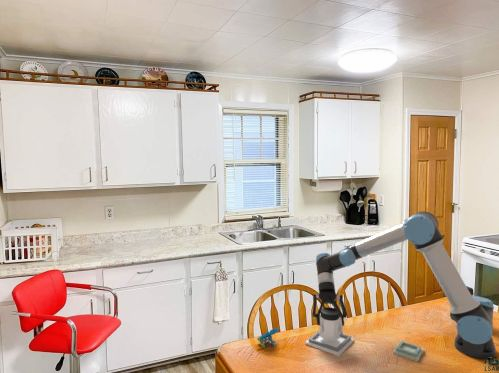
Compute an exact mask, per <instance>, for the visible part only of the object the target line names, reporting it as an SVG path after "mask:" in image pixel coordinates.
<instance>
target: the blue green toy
mask: <svg viewBox="0 0 499 373" xmlns="http://www.w3.org/2000/svg"><path fill="white" fill-rule="evenodd" d="M279 331H280V329H279V327H275V328H274V329H273V328H272V329H270V331H266V332H265V333H264V334H262V335H261V336H259V337H257V338H256V339H257V341H258V342H259V343H260V344H261V345H262V347H263V349H264V348H266V346H265V344H264V342H266V341H269V340H270V343H271V345H272V346H275V342H274V339H273V335H275V334H276V333H278V332H279Z"/></svg>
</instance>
